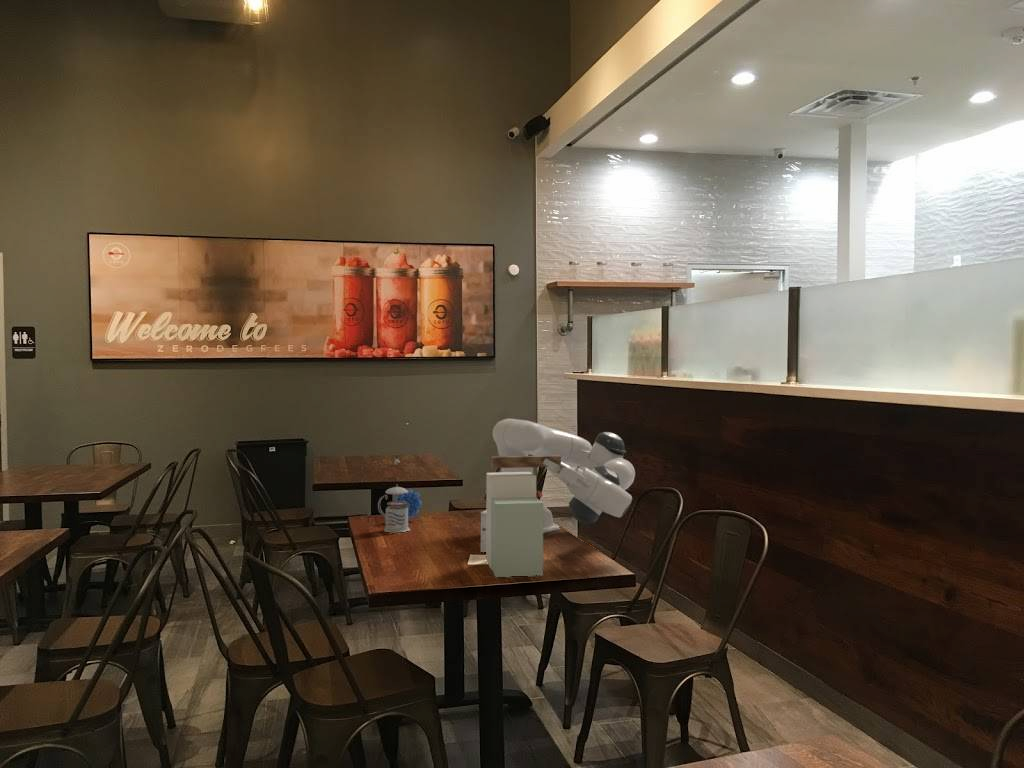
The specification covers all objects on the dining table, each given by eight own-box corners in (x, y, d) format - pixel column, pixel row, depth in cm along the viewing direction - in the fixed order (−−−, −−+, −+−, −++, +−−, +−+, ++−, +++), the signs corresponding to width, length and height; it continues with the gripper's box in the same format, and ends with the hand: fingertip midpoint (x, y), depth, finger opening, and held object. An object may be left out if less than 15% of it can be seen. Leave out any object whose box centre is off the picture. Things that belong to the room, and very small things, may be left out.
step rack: (529, 559, 229) (529, 471, 228) (543, 575, 210) (543, 480, 209) (486, 560, 226) (486, 472, 226) (495, 577, 208) (495, 481, 207)
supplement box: (479, 553, 236) (479, 512, 236) (488, 547, 243) (488, 507, 243) (502, 555, 234) (502, 513, 234) (510, 549, 241) (510, 509, 241)
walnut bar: (558, 465, 226) (558, 455, 226) (560, 466, 223) (561, 456, 223) (491, 466, 223) (491, 456, 223) (492, 468, 220) (492, 457, 220)
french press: (406, 534, 264) (406, 461, 263) (373, 532, 266) (373, 460, 265) (414, 528, 273) (414, 458, 273) (383, 527, 275) (383, 457, 275)
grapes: (419, 518, 292) (419, 487, 291) (423, 521, 285) (423, 489, 285) (389, 520, 288) (389, 488, 288) (391, 523, 282) (391, 490, 281)
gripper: (586, 497, 216) (544, 473, 213) (568, 486, 236) (530, 465, 234) (597, 477, 216) (555, 454, 214) (578, 468, 236) (540, 446, 234)
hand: (542, 459), depth 224 cm, fingers closed on walnut bar, 3 cm apart
